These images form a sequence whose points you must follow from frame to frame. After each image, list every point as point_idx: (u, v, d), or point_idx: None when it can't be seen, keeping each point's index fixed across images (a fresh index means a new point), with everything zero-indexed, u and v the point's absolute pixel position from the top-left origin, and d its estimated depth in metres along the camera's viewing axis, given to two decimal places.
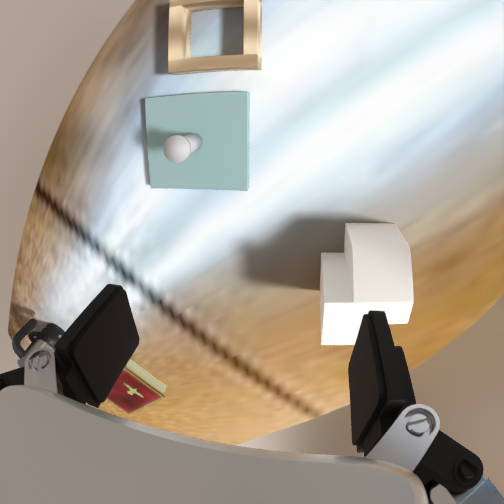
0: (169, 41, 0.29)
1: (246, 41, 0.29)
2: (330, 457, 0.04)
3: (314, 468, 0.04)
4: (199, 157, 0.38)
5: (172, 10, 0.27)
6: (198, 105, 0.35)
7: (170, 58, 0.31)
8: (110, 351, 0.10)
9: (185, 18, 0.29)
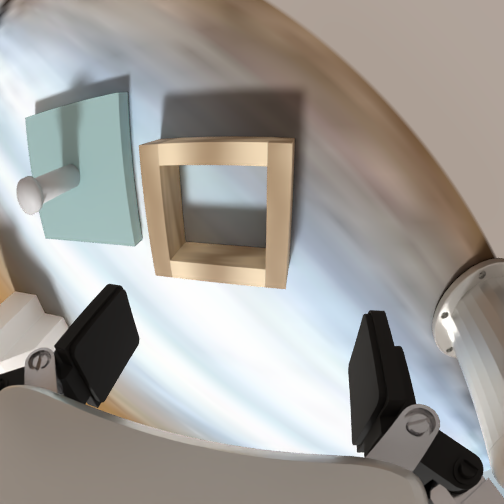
0: (193, 144, 0.20)
1: (189, 266, 0.24)
2: (329, 457, 0.04)
3: (314, 468, 0.04)
4: None
5: (257, 149, 0.19)
6: (110, 181, 0.24)
7: (161, 148, 0.20)
8: (110, 351, 0.10)
9: None
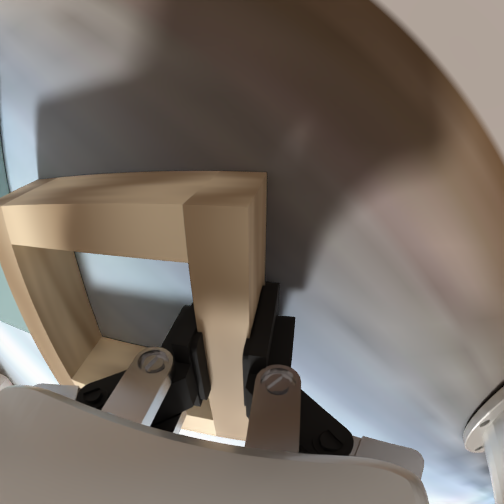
0: (42, 208, 0.08)
1: None
2: (330, 457, 0.04)
3: (314, 468, 0.04)
4: None
5: (160, 221, 0.07)
6: None
7: (6, 213, 0.08)
8: None
9: None
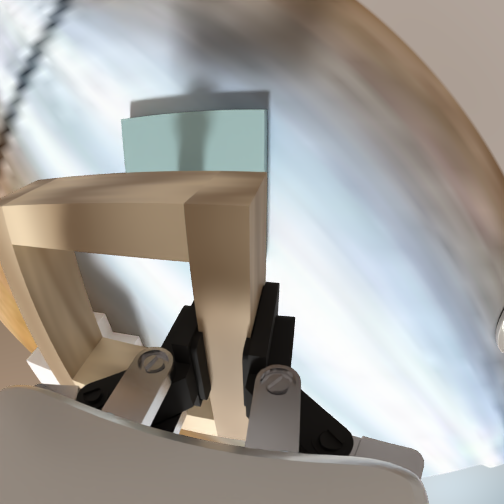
0: (43, 208, 0.08)
1: None
2: (329, 457, 0.04)
3: (314, 468, 0.04)
4: None
5: (162, 220, 0.07)
6: None
7: (7, 213, 0.08)
8: None
9: None
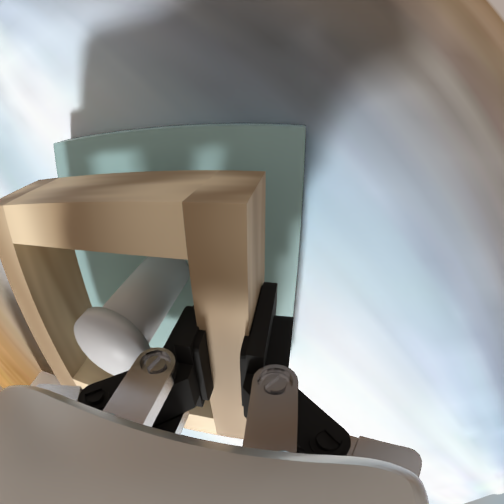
0: (44, 207, 0.08)
1: None
2: (330, 457, 0.04)
3: (314, 468, 0.04)
4: None
5: (161, 218, 0.08)
6: None
7: (8, 213, 0.08)
8: None
9: None
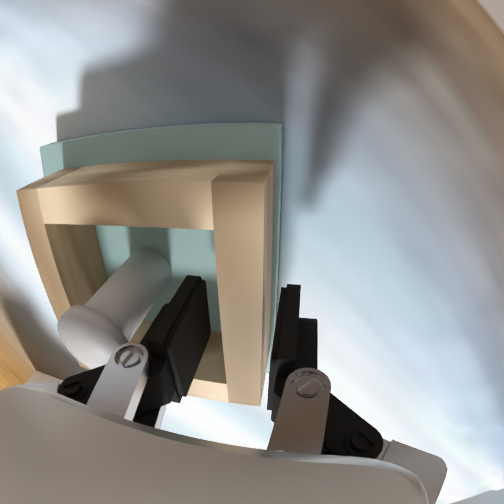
0: (81, 188, 0.10)
1: None
2: (329, 457, 0.04)
3: (314, 468, 0.04)
4: None
5: (192, 195, 0.09)
6: None
7: (42, 195, 0.10)
8: (193, 343, 0.11)
9: None
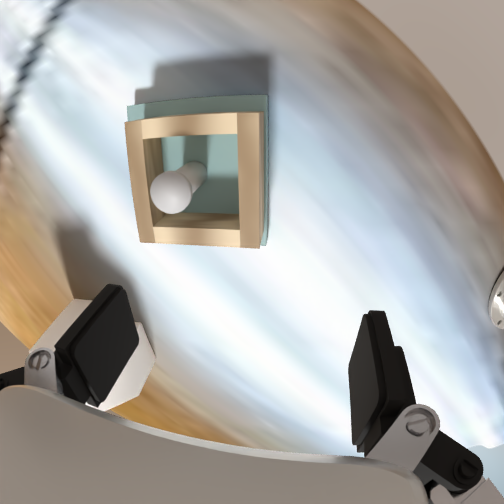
0: (171, 118, 0.21)
1: (170, 231, 0.26)
2: (330, 457, 0.04)
3: (314, 468, 0.04)
4: None
5: (228, 119, 0.21)
6: None
7: (144, 123, 0.22)
8: (110, 351, 0.10)
9: None
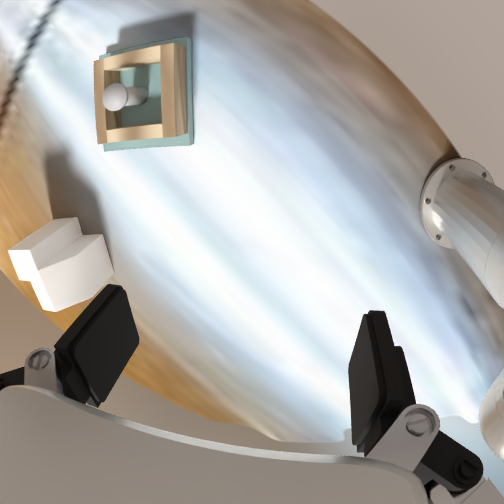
0: (122, 54, 0.27)
1: (117, 131, 0.32)
2: (330, 457, 0.04)
3: (314, 468, 0.04)
4: None
5: (155, 49, 0.26)
6: None
7: (105, 60, 0.27)
8: (110, 351, 0.10)
9: (153, 61, 0.29)
